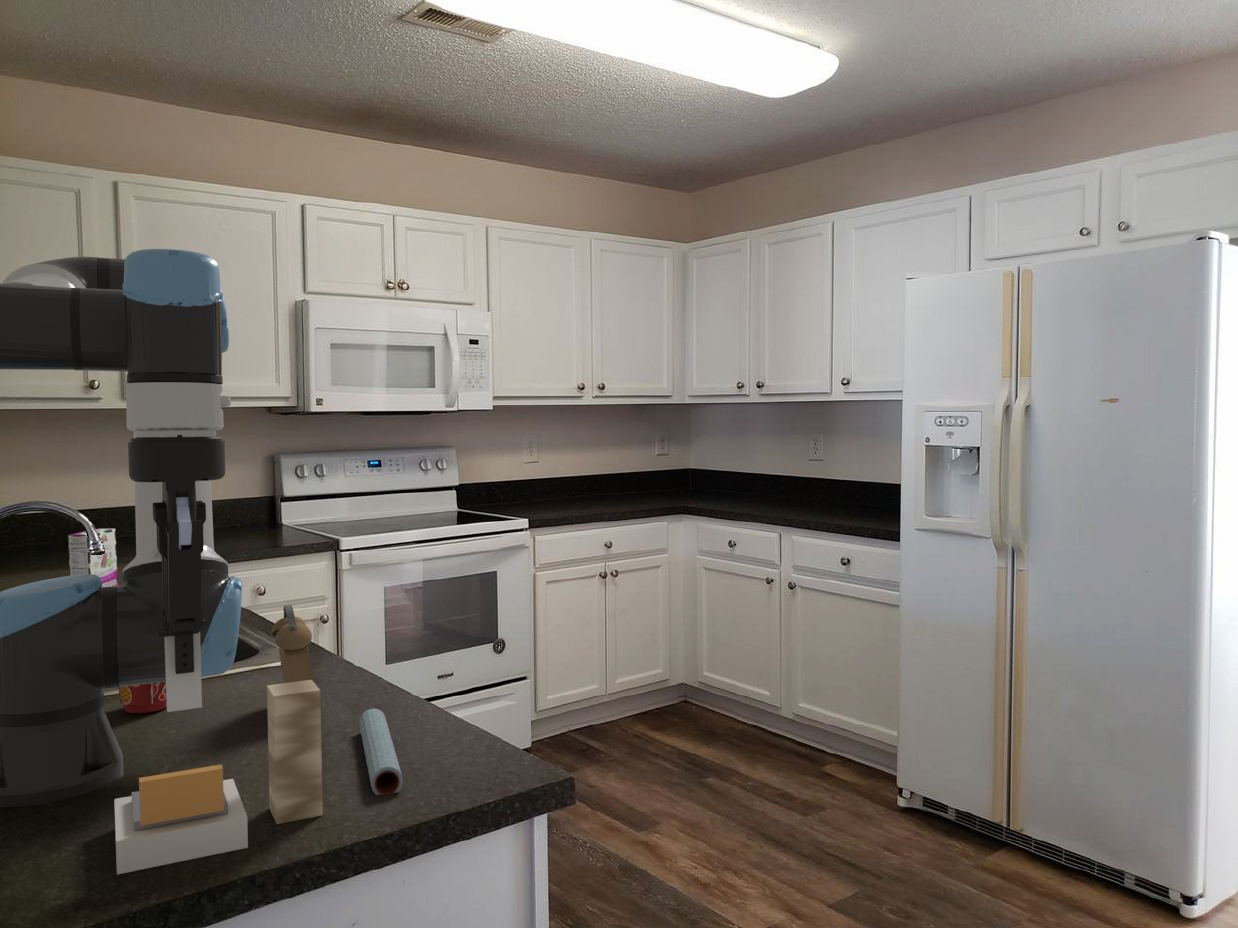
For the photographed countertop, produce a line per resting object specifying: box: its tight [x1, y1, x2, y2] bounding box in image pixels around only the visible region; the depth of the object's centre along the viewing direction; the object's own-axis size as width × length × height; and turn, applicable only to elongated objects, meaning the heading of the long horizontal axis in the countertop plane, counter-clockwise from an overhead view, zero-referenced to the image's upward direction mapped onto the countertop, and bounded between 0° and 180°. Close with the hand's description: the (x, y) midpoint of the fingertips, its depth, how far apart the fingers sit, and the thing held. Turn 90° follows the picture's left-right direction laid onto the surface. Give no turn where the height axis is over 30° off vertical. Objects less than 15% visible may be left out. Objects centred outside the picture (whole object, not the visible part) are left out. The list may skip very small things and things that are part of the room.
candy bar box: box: [67, 528, 119, 587], centre depth 213 cm, size 11×5×16 cm, turn 179°
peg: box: [266, 680, 324, 825], centre depth 98 cm, size 4×4×13 cm
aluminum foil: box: [358, 708, 404, 796], centre depth 114 cm, size 23×7×3 cm, turn 19°
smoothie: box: [118, 682, 167, 714], centre depth 134 cm, size 8×8×20 cm
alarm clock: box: [271, 604, 314, 683], centre depth 133 cm, size 11×5×15 cm, turn 25°
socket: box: [114, 778, 249, 875], centre depth 92 cm, size 11×11×3 cm
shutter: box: [131, 764, 228, 831], centre depth 92 cm, size 8×9×5 cm
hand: (184, 707), depth 82 cm, fingers closed
